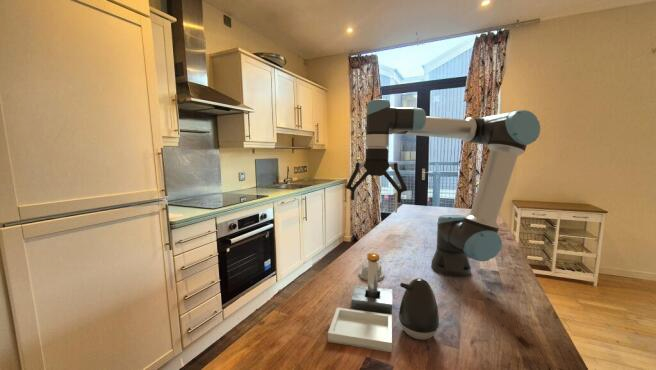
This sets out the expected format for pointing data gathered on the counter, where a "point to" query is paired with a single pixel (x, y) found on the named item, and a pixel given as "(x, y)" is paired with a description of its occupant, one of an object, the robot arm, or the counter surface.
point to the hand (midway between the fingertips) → (375, 210)
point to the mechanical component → (364, 272)
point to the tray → (361, 329)
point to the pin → (372, 275)
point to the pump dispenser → (419, 310)
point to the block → (372, 300)
